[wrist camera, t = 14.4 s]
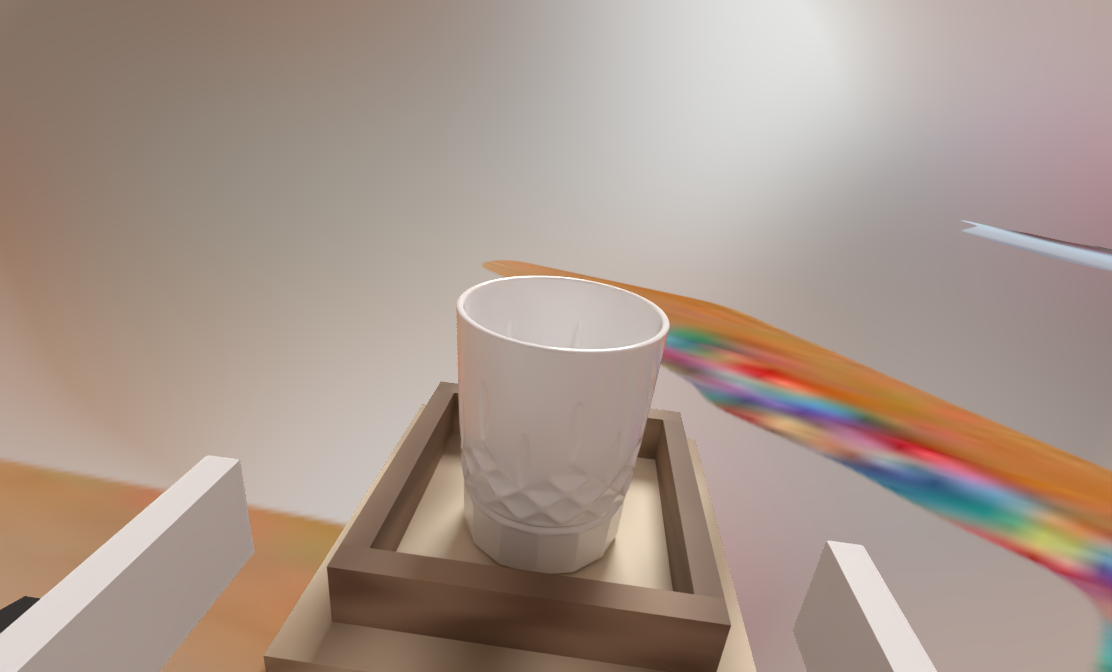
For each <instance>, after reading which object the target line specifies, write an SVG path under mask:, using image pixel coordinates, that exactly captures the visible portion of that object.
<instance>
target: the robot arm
mask: <svg viewBox="0 0 1112 672" xmlns="http://www.w3.org/2000/svg"><path fill="white" fill-rule="evenodd" d="M254 552H255V551H254V545H253V539H252V533H251V526H250V520H249V514H248V507H247V501H246V495H245V489H244V483H243V476H242V470H241V464H240V460H238V459H231V458H224V457H216V456H209V455H207V456H206V457H205V458H204V459H202V460H201V461H200V462H199V463H198V464H197V465H195V466H194V467H193V468H192V469H191V470H190V471H188V473H186V474H185V475H184V476H183V477H182V478H180V479H179V480H178V481H177V482H176V483H174V484H173V485H172V486H171V487H170V488H169V489H168V490H166V491H165V492H164V493H163V494H162V495H161V496H159V497H158V498H157V499H156V500H155V501H154V502H152V503H151V504H150V505H149V506H148V507H147V508H145V509H144V510H143V511H142V512H141V513H140V514H139V515H137V516H136V517H135V518H134V519H133V520H132V521H130V522H129V523H128V524H127V525H126V526H125V527H123V528H122V529H121V530H120V531H119V532H118V533H116V534H115V535H114V536H113V537H112V538H111V539H109V540H108V541H107V542H106V543H105V544H104V545H103V546H101V547H100V548H99V549H98V550H97V551H96V552H94V553H93V554H92V555H91V556H90V557H89V558H87V559H86V560H85V561H84V562H83V563H82V564H80V565H79V566H78V567H77V568H76V569H75V570H74V571H72V572H71V573H70V574H69V575H68V576H67V577H65V578H64V579H63V580H62V581H61V582H60V583H58V584H57V585H56V586H55V587H54V588H53V589H51V590H50V591H49V592H48V593H47V594H46V595H45V596H43V597H42V598H41V599H40V598H33V597H27V596H24V597H23V598H21V599H19V600H17V601H15V602H14V603H12V604H10V605H8V606H7V607H5V608H3V609H1V610H0V672H159V671H160V670H161V669H162V667H163V666H164V665H165V664H166V662H167V661H168V660H169V659H170V657H171V656H172V655H173V654H174V652H175V651H176V650H177V649H178V647H179V646H180V645H181V644H182V642H183V641H184V640H185V639H186V637H187V636H188V635H189V634H190V632H191V631H192V630H193V629H194V627H195V626H196V625H197V624H198V622H199V621H200V620H201V619H202V617H203V616H204V615H205V614H206V612H207V611H208V610H209V609H210V607H211V606H212V605H213V604H214V602H215V601H216V600H217V599H218V597H219V596H220V595H221V594H222V592H223V591H224V590H225V589H226V587H227V586H228V585H229V584H230V582H231V581H232V580H233V579H234V577H235V576H236V575H237V574H238V572H239V571H240V570H241V569H242V567H243V566H244V565H245V564H246V562H247V561H248V560H249V559H250V557H251V556H252V555H253V554H254ZM793 632H794V635H795V638H796V641H797V643H798V646H799V649H800V652H801V655H802V658H803V660H804V663H805V666H806V668H807V672H937V671H936V669H935V667H934V666H933V664H932V662H931V661H930V659H929V657H928V656H927V654H926V652H925V651H924V649H923V647H922V645H921V644H920V642H919V640H918V638H917V637H916V635H915V633H914V632H913V630H912V628H911V627H910V625H909V623H908V621H907V620H906V618H905V616H904V615H903V613H902V611H901V610H900V608H899V606H898V604H897V603H896V601H895V599H894V598H893V596H892V594H891V593H890V591H889V589H888V587H887V586H886V584H885V582H884V581H883V579H882V577H881V576H880V574H879V572H878V570H877V569H876V567H875V565H874V564H873V562H872V560H871V559H870V557H869V555H868V554H867V552H866V550H865V548H864V547H863V545H856V544H848V543H841V542H834V541H827V542H826V544H825V547H824V549H823V552H822V554H821V557H820V560H819V562H818V565H817V568H816V571H815V573H814V575H813V578H812V581H811V583H810V586H809V589H808V591H807V594H806V597H805V599H804V602H803V604H802V607H801V610H800V612H799V615H798V618H797V620H796V623H795V626H794V628H793Z"/></svg>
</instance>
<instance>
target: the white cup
mask: <svg viewBox="0 0 1112 672" xmlns="http://www.w3.org/2000/svg"><path fill="white" fill-rule="evenodd" d="M456 310H457V346H458V347H457V349H458V400H459V427H460V437H461V463H462V471H463V476H464V517H465V521H466V523H467V526H468V529H469V531H470V534H471V537H472V540H473V542H474V544H475V545H476V546H478V547H479V548H480V549H481V550H482V551H484V552H485V553H486V554H487V555H488V556H490V557H491V558H492V559H493V560H495V561H496V562H497V563H498V564H500V565H503V566H506V567H509V568H513V569H520V570H527V571H534V572H541V573H548V574H559V573H572V572H575V571H577V570H579V569H581V568H583V567H585V566H586V565H588V564H590V563H592V562H594V561H596V560H598V559H600V558H602V557H603V555H604V554H605V552H606V550H607V549H608V547H609V546H610V544H611V543H612V541H613V539H614V538H615V536H616V535H617V532H618V527H619V523H620V519H621V514H622V510H623V505H624V501H625V496H626V494H627V491H628V489H629V486H630V483H631V480H632V477H633V474H634V470H635V465H636V459H637V455H638V453H639V449H640V446H641V443H642V440H643V436H644V432H645V427H646V423H647V419H648V415H649V410H650V406H651V402H652V397H653V393H654V389H655V384H656V380H657V376H658V372H659V368H660V364H661V360H662V355H663V351H664V347H665V343H666V339H667V335H668V331H669V320H668V317H667V316H666V314H665V313H664V312H663V311H662V310H661V309H660V308H659V307H658V306H657V305H655V304H654V303H652V302H651V301H649V300H647V299H645V298H643V297H641V296H639V295H637V294H635V293H632V292H630V291H627V290H624V289H621V288H618V287H614V286H611V285H607V284H603V283H598V282H594V281H588V280H582V279H576V278H567V277H556V276H517V277H507V278H500V279H495V280H490V281H487V282H483V283H480V284H477V285H475V286H473V287H471V288H469V289H467V290H466V291H464V292H463V293H462V294H461V295H460V297H459V298H458V300H457V304H456Z"/></svg>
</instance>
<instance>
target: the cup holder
mask: <svg viewBox="0 0 1112 672" xmlns="http://www.w3.org/2000/svg"><path fill="white" fill-rule="evenodd" d="M264 661H265V667H266V672H756V668H755V664H754V660H753V657H752V653H751V649H750V645H749V641H748V638H747V634H746V631H745V626H744V623H743V619H742V615H741V611H740V608H739V604H738V600H737V597H736V592H735V589H734V585H733V581H732V577H731V574H730V570H729V566H728V562H727V559H726V555H725V551H724V548H723V544H722V540H721V536H720V532H719V528H718V525H717V521H716V517H715V513H714V510H713V506H712V502H711V498H710V494H709V491H708V487H707V483H706V480H705V476H704V472H703V468H702V464H701V461H700V457H699V453H698V449H697V446H696V442H695V440H693V439H686V435H685V431H684V427H683V422H682V418H681V414H680V412H673V411H666V410H658V409H650V410H649V415H648V419H647V423H646V427H645V432H644V436H643V440H642V443H641V446H640V449H639V453H638V455H637V459H636V465H635V470H634V474H633V477H632V480H631V483H630V486H629V489H628V491H627V494H626V496H625V501H624V505H623V510H622V514H621V519H620V523H619V527H618V532H617V535H616V536H615V538H614V539H613V541H612V543H611V544H610V546H609V547H608V549H607V550H606V552H605V554H604V555H603V557H602V558H600V559H598V560H596V561H594V562H592V563H590V564H588V565H586V566H585V567H583V568H581V569H579V570H577V571H575V572H572V573H559V574H548V573H541V572H534V571H527V570H520V569H513V568H509V567H506V566H503V565H500V564H498V563H497V562H496V561H495V560H493V559H492V558H491V557H490V556H488V555H487V554H486V553H485V552H484V551H482V550H481V549H480V548H479V547H478V546H476V545H475V544H474V542H473V540H472V537H471V534H470V531H469V529H468V526H467V523H466V521H465V517H464V476H463V471H462V463H461V437H460V427H459V400H458V384H455V383H447V382H440V384H439V386H438V387H437V389H436V391H435V392H434V394H433V395H432V397H431V399H430V400H429V402H428V404H427V405H424V404H422V406H421V408H420V409H419V411H418V412H417V414H416V415H415V417H414V419H413V420H412V422H411V423H410V425H409V427H408V428H407V430H406V431H405V433H404V434H403V436H402V438H401V439H400V441H399V442H398V444H397V446H396V447H395V449H394V450H393V452H392V453H391V455H390V457H389V458H388V460H387V461H386V463H385V464H384V466H383V468H382V469H381V471H380V472H379V474H378V476H377V477H376V479H375V480H374V482H373V483H372V485H371V487H370V488H369V490H368V491H367V493H366V495H365V496H364V498H363V499H362V501H361V503H360V504H359V506H358V508H357V509H356V510H355V512H354V514H353V515H352V517H351V518H350V520H349V521H348V523H347V525H346V526H345V528H344V529H343V531H342V533H341V534H340V536H339V537H338V539H337V540H336V542H335V544H334V545H333V547H332V548H331V550H330V551H329V553H328V555H327V556H326V558H325V559H324V561H323V563H322V564H321V566H320V567H319V569H318V570H317V572H316V574H315V575H314V577H313V578H312V580H311V582H310V583H309V585H308V586H307V588H306V589H305V591H304V593H303V594H302V596H301V597H300V599H299V601H298V602H297V604H296V605H295V607H294V608H293V610H292V612H291V613H290V615H289V616H288V618H287V620H286V621H285V623H284V624H283V626H282V627H281V629H280V631H279V632H278V634H277V635H276V637H275V638H274V640H273V642H272V643H271V645H270V646H269V648H268V650H267V651H266V653H265V654H264Z"/></svg>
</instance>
